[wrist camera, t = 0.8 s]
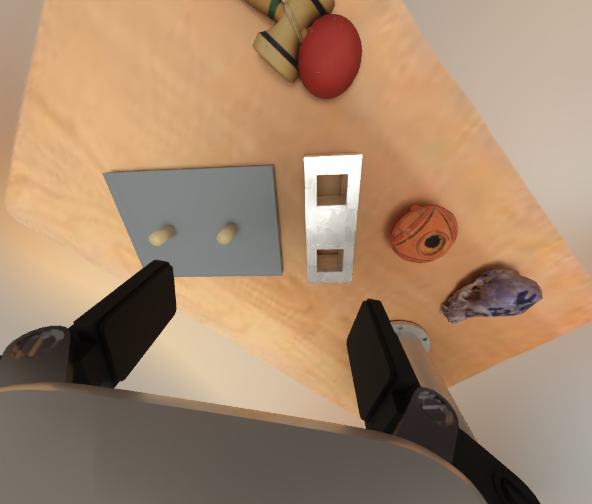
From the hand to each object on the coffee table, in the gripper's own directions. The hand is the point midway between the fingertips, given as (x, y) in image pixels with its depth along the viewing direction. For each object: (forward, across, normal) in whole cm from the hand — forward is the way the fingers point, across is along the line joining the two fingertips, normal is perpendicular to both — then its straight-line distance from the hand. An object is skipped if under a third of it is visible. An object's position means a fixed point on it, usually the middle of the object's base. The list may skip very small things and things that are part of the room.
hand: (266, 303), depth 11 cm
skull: (+22, -31, +9) cm, 39 cm away
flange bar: (+22, -5, +1) cm, 22 cm away
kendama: (+22, +4, -17) cm, 28 cm away
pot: (+22, -17, 0) cm, 28 cm away
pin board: (+22, +12, +6) cm, 25 cm away
